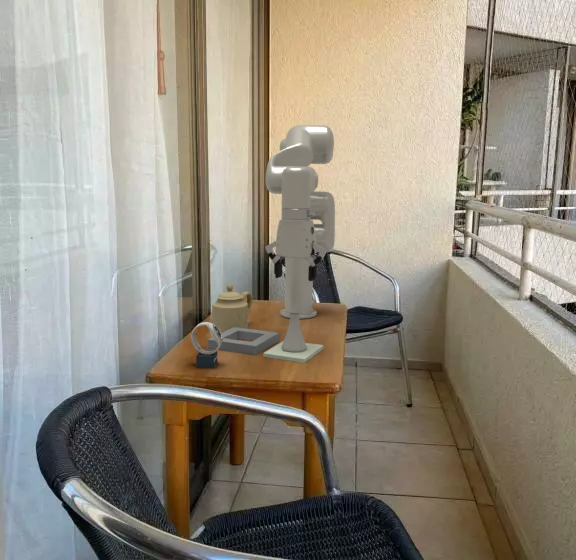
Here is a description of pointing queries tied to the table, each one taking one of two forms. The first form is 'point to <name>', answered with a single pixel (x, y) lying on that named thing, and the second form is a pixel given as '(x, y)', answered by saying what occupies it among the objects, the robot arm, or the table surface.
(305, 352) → the sage mat
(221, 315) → the sugar bowl
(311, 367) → the table surface
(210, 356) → the watch
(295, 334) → the flask
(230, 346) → the frame
